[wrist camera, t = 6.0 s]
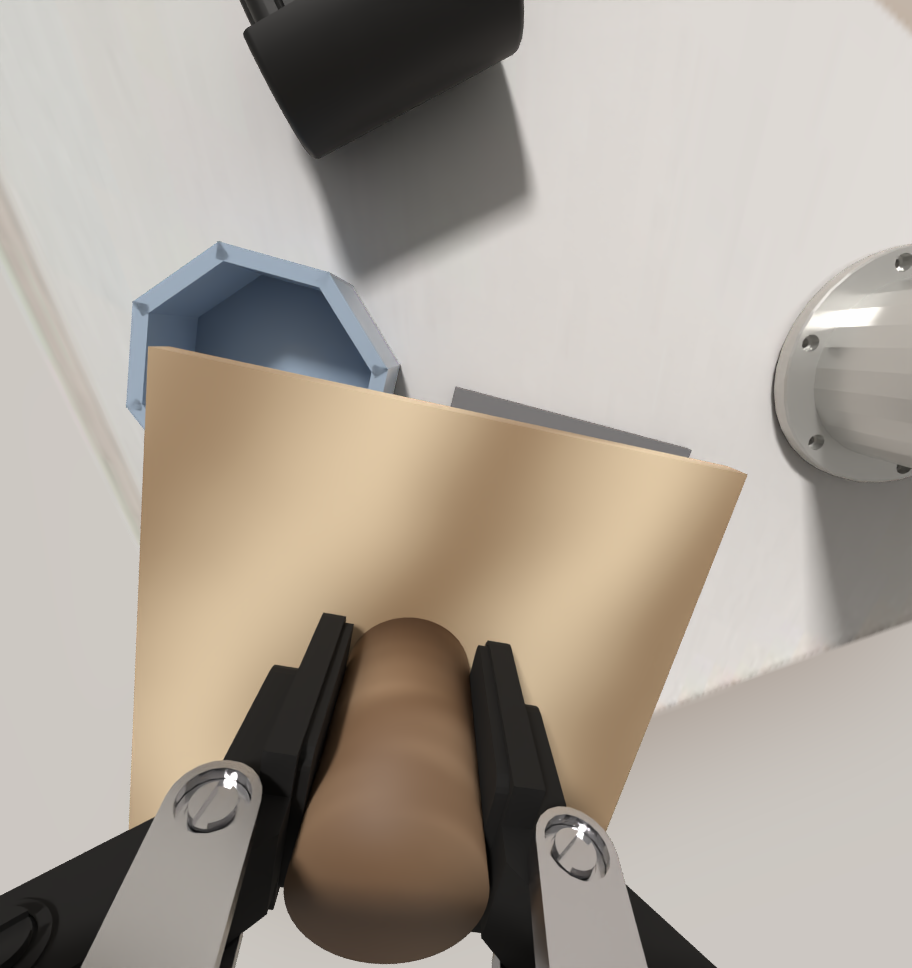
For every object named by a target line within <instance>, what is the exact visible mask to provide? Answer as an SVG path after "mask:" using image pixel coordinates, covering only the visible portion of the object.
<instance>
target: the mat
mask: <svg viewBox="0 0 912 968" xmlns="http://www.w3.org/2000/svg"><path fill="white" fill-rule="evenodd" d="M451 407H454V408H459V409H463V410H468V411H473V412H477V413H482V414H487V415H491V416H496V417H501V418H505V419H510V420H515V421H519V422H524V423H529V424H533V425H538V426H543V427H547V428H552V429H557V430H561V431H566V432H571V433H575V434H580V435H584V436H589V437H594V438H598V439H603V440H608V441H612V442H617V443H622V444H626V445H631V446H636V447H640V448H645V449H650V450H654V451H659V452H664V453H668V454H673V455H678V456H682V457H687V458H689V455H690V453H691V451H692V450H690V449H688V448H685V447H681V446H677V445H673V444H670V443H666V442H662V441H658V440H655V439H651V438H647V437H643V436H640V435H636V434H632V433H628V432H625V431H621V430H617V429H613V428H610V427H606V426H602V425H598V424H595V423H591V422H587V421H583V420H580V419H576V418H572V417H568V416H565V415H561V414H557V413H553V412H550V411H546V410H542V409H538V408H535V407H531V406H527V405H523V404H520V403H516V402H512V401H508V400H505V399H501V398H497V397H493V396H490V395H486V394H482V393H478V392H475V391H471V390H467V389H463V388H460V387H456V388H455V391H454V395H453V399H452V403H451Z"/></svg>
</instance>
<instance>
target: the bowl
mask: <svg viewBox="0 0 912 968" xmlns="http://www.w3.org/2000/svg"><path fill="white" fill-rule="evenodd" d="M132 303H133V307H132V323H131V339H130V354H129V370H128V386H127V402H126V408H128V410H129V411H130V412H131V413H132V415H133V416H134V417H135V418H136V420H137V421H138V422H139V424H140V425H141V426H142V427H143V429H144V430H145V411H146V386H147V361H148V346H170V347H175V348H179V349H184V350H189V351H193V352H198V353H203V354H207V355H212V356H217V357H221V358H226V359H231V360H235V361H240V362H245V363H249V364H254V365H259V366H263V367H268V368H273V369H277V370H282V371H287V372H291V373H296V374H300V375H305V376H310V377H314V378H319V379H324V380H328V381H333V382H338V383H342V384H347V385H352V386H356V387H361V388H366V389H370V390H375V391H380V392H384V393H389V394H394V390H395V386H396V381H397V377H398V372H399V368H400V364H399V362H398V361H397V359H396V357H395V356H394V354H393V352H392V351H391V349H390V347H389V346H388V344H387V342H386V341H385V339H384V337H383V336H382V334H381V332H380V331H379V329H378V327H377V326H376V324H375V322H374V321H373V319H372V317H371V316H370V314H369V312H368V311H367V309H366V307H365V306H364V304H363V302H362V301H361V299H360V297H359V296H358V294H357V292H356V291H355V289H354V287H353V286H352V285H351V284H349V283H347V282H346V281H344V280H342V279H340V278H339V277H337V276H335V275H333V274H332V273H330V272H326V271H322V270H319V269H315V268H312V267H308V266H304V265H301V264H297V263H294V262H290V261H287V260H283V259H279V258H276V257H272V256H269V255H265V254H262V253H258V252H254V251H251V250H247V249H244V248H240V247H236V246H233V245H229V244H226V243H223V242H220V241H217V243H216V244H214V245H213V246H211V247H210V248H209V249H207V250H206V251H204V252H203V253H202V254H200V255H199V256H197V257H196V258H194V259H193V260H192V261H190V262H189V263H187V264H186V265H184V266H183V267H182V268H180V269H179V270H177V271H176V272H174V273H173V274H172V275H170V276H169V277H167V278H166V279H165V280H163V281H162V282H160V283H159V284H157V285H156V286H155V287H153V288H152V289H150V290H149V291H147V292H146V293H145V294H143V295H142V296H140V297H139V298H137V299H136V300H135V301H133V302H132Z"/></svg>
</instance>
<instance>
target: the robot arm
mask: <svg viewBox="0 0 912 968" xmlns="http://www.w3.org/2000/svg"><path fill="white" fill-rule="evenodd" d="M774 397H775V409H776V413H777V417H778V420H779V423H780V427H781V430H782V431H783V433H784V435H785V437H786V438H787V440H788V442H789V444H790V445H791V446H792V448H793V449H794V450H795V451H796V452H797V453H798V454H799V455H800V456H801V457H802V458H803V459H804V460H805V461H807V462H808V463H810V464H811V465H813V466H814V467H816V468H817V469H820V470H822V471H825V472H827V473H830V474H832V475H835V476H837V477H841V478H845V479H849V480H852V481H857V482H872V483H878V482H887V481H895V480H900V479H904V478H907V477H911V476H912V244H908V245H903V246H898V247H894V248H891V249H888V250H885V251H882V252H879V253H876V254H873V255H870V256H868V257H866V258H864V259H862V260H860V261H859V262H857V263H855V264H853V265H851V266H849V267H847V268H846V269H845V270H843V271H842V272H841V273H840V274H838V275H837V276H836V277H834V278H833V279H832V280H830V281H829V282H828V283H826V285H825V286H824V287H823V288H822V289H821V290H820V291H819V292H818V293H817V294H816V295H815V296H814V297H813V298H812V299H811V300H810V301H809V302H808V304H807V305H806V306H805V308H804V309H803V311H802V312H801V314H800V315H799V316H798V318H797V319H796V321H795V322H794V324H793V326H792V328H791V330H790V332H789V334H788V336H787V338H786V340H785V342H784V344H783V347H782V350H781V354H780V357H779V360H778V364H777V367H776V375H775V384H774ZM353 627H354V624H351V623H346V616H342V615H336V614H330V613H323V614H322V616H321V618H320V621H319V623H318V625H317V627H316V630H315V632H314V634H313V637H312V639H311V641H310V643H309V646H308V648H307V650H306V653H305V655H304V657H303V659H302V662H301V664H300V666H299V668H294V667H287V666H281V665H273V666H272V668H271V669H270V671H269V673H268V675H267V677H266V679H265V681H264V682H263V684H262V686H261V688H260V690H259V692H258V694H257V696H256V698H255V700H254V702H253V704H252V705H251V707H250V709H249V711H248V713H247V715H246V717H245V719H244V721H243V723H242V725H241V726H240V728H239V730H238V732H237V734H236V736H235V738H234V740H233V742H232V744H231V746H230V747H229V749H228V751H227V753H226V755H225V757H224V759H223V760H221V761H213V762H209V763H206V764H203V765H200V766H198V767H196V768H194V769H192V770H190V771H189V772H187V773H185V774H184V775H183V776H182V777H181V778H180V779H179V780H177V781H176V782H175V783H174V784H173V786H172V787H171V789H170V790H169V791H168V793H167V794H166V796H165V798H164V800H163V802H162V804H161V806H160V808H159V810H158V812H157V814H156V816H155V817H153V818H151V819H149V820H147V821H145V822H143V823H141V824H140V825H138V826H136V827H134V828H132V829H130V830H128V831H126V832H124V833H122V834H120V835H118V836H116V837H114V838H112V839H110V840H108V841H106V842H104V843H102V844H101V845H98V846H96V847H95V848H93V849H91V850H89V851H87V852H85V853H83V854H81V855H79V856H77V857H75V858H73V859H71V860H69V861H67V862H65V863H63V864H61V865H59V866H57V867H55V868H53V869H52V870H50V871H48V872H46V873H44V874H42V875H40V876H38V877H36V878H34V879H32V880H30V881H28V882H26V883H24V884H22V885H21V886H18V887H16V888H14V889H12V890H11V891H8V892H6V893H4V894H3V895H1V896H0V968H235V965H236V961H237V957H238V953H239V949H240V945H241V941H242V937H243V932H244V931H245V930H247V929H248V928H249V927H251V926H252V925H253V924H255V923H256V922H257V921H259V920H260V919H261V918H262V917H264V916H265V915H266V914H267V911H268V909H270V910H273V909H274V905H275V902H276V899H277V895H278V892H279V888H280V887H284V882H285V878H286V874H287V870H288V867H289V863H290V860H291V856H292V853H293V850H294V846H295V843H296V839H297V836H298V832H299V829H300V825H301V823H302V819H303V816H304V812H305V809H306V805H307V802H308V798H309V795H310V791H311V788H312V784H313V781H314V778H315V774H316V771H317V767H318V764H319V760H320V757H321V753H322V750H323V746H324V743H325V740H326V736H327V733H328V729H329V726H330V722H331V719H332V715H333V712H334V708H335V705H336V702H337V698H338V695H339V691H340V688H341V684H342V681H343V677H344V674H345V670H346V666H347V660H348V655H349V649H350V644H351V638H352V633H353ZM469 676H470V687H471V698H472V708H473V719H474V730H475V741H476V751H477V762H478V773H479V784H480V794H481V805H482V816H483V827H484V836H485V845H486V856H487V866H488V877H489V899H488V903H487V907H486V909H485V911H484V914H483V916H482V917H481V919H480V921H479V922H478V924H477V925H476V926H475V927H474V929H473V930H472V931H471V932H478V933H481V938H482V939H483V940H484V941H485V943H486V944H487V945H488V947H489V948H490V949H491V950H492V952H493V959H492V968H717V967H715V966H714V965H713V964H712V963H711V962H710V961H709V960H708V959H707V958H705V957H704V956H703V955H702V954H701V953H700V952H699V951H698V950H697V949H696V948H695V947H694V946H693V945H691V944H690V943H689V942H688V941H687V940H686V939H685V938H684V937H683V936H681V935H680V934H679V933H678V932H677V931H676V930H675V929H674V928H673V927H672V926H671V925H670V924H668V923H667V922H666V921H665V920H664V919H663V918H662V917H661V916H660V915H659V914H658V913H656V912H655V911H654V910H653V909H652V908H651V907H650V906H649V905H648V904H647V903H646V902H644V901H643V900H642V899H641V898H640V897H639V896H638V895H637V894H636V893H635V892H633V891H632V890H631V889H630V888H629V887H628V886H627V885H626V884H625V881H624V877H623V873H622V869H621V865H620V862H619V858H618V855H617V852H616V850H615V847H614V845H613V842H612V841H611V839H610V838H609V836H608V835H607V833H606V832H605V830H604V829H603V828H602V827H601V826H600V825H599V824H598V823H597V822H596V821H595V820H594V819H592V818H591V817H589V816H588V815H586V814H584V813H583V812H581V811H578V810H576V809H573V808H570V807H567V806H566V802H565V799H564V795H563V791H562V788H561V784H560V781H559V777H558V773H557V770H556V766H555V763H554V759H553V755H552V752H551V748H550V745H549V741H548V737H547V734H546V730H545V727H544V723H543V719H542V716H541V713H540V710H539V708H538V707H537V706H534V705H528V704H525V702H524V698H523V694H522V690H521V686H520V682H519V677H518V673H517V669H516V665H515V661H514V657H513V652H512V648H511V645H510V644H507V643H501V642H495V641H489V640H488V641H487V642H486V644H485V646H482V645H478V647H477V649H476V653H475V656H474V660H473V664H472V668H471V672H470V675H469Z"/></svg>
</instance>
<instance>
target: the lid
mask: <svg viewBox="0 0 912 968" xmlns="http://www.w3.org/2000/svg"><path fill="white" fill-rule="evenodd" d="M746 477H747V474H745V473H742V472H740V471H738V470H735V469H733V468H730V467H728V466H724V465H720V464H715V463H710V462H706V461H701V460H696V459H692V458H687V457H682V456H678V455H673V454H668V453H664V452H659V451H654V450H650V449H645V448H640V447H636V446H631V445H626V444H622V443H617V442H612V441H608V440H603V439H598V438H594V437H589V436H584V435H580V434H575V433H571V432H566V431H561V430H557V429H552V428H547V427H543V426H538V425H533V424H529V423H524V422H519V421H515V420H510V419H505V418H501V417H496V416H491V415H487V414H482V413H477V412H473V411H468V410H463V409H459V408H454V407H449V406H445V405H440V404H436V403H431V402H426V401H422V400H417V399H412V398H408V397H403V396H398V395H394V394H389V393H384V392H380V391H375V390H370V389H366V388H361V387H356V386H352V385H347V384H342V383H338V382H333V381H328V380H324V379H319V378H314V377H310V376H305V375H300V374H296V373H291V372H287V371H282V370H277V369H273V368H268V367H263V366H259V365H254V364H249V363H245V362H240V361H235V360H231V359H226V358H221V357H217V356H212V355H207V354H203V353H198V352H193V351H189V350H184V349H179V348H175V347H170V346H148V361H147V386H146V411H145V436H144V461H143V486H142V512H141V537H140V563H139V588H138V612H137V614H138V615H137V638H136V662H135V687H134V688H135V689H134V713H133V739H132V763H131V764H132V765H131V788H130V814H129V830H130V829H132V828H134V827H136V826H138V825H140V824H141V823H143V822H145V821H147V820H149V819H151V818H153V817H155V816H156V814H157V812H158V810H159V808H160V806H161V804H162V802H163V800H164V798H165V796H166V794H167V793H168V791H169V790H170V789H171V787H172V786H173V784H174V783H175V782H176V781H177V780H179V779H180V778H181V777H182V776H183V775H184V774H185V773H187V772H189V771H190V770H192V769H194V768H196V767H198V766H200V765H203V764H206V763H209V762H213V761H221V760H223V759H224V757H225V755H226V753H227V751H228V749H229V747H230V746H231V744H232V742H233V740H234V738H235V736H236V734H237V732H238V730H239V728H240V726H241V725H242V723H243V721H244V719H245V717H246V715H247V713H248V711H249V709H250V707H251V705H252V704H253V702H254V700H255V698H256V696H257V694H258V692H259V690H260V688H261V686H262V684H263V682H264V681H265V679H266V677H267V675H268V673H269V671H270V669H271V668H272V666H273V665H281V666H287V667H294V668H299V666H300V664H301V662H302V659H303V657H304V655H305V653H306V650H307V648H308V646H309V643H310V641H311V639H312V637H313V634H314V632H315V630H316V627H317V625H318V623H319V621H320V618H321V616H322V614H323V613H330V614H336V615H342V616H346V623H351V624H354V627H353V633H352V638H351V644H350V649H349V655H348V660H347V666H346V670H345V674H344V677H343V681H342V684H341V688H340V691H339V695H338V698H337V702H336V705H335V708H334V712H333V715H332V719H331V722H330V726H329V729H328V733H327V736H326V740H325V743H324V746H323V750H322V753H321V757H320V760H319V764H318V767H317V771H316V774H315V778H314V781H313V784H312V788H311V791H310V795H309V798H308V802H307V805H306V809H305V812H304V816H303V819H302V823H301V825H300V829H299V832H298V836H297V839H296V843H295V846H294V850H293V853H292V856H291V860H290V863H289V867H288V870H287V874H286V878H285V882H284V900H285V905H286V908H287V911H288V913H289V915H290V917H291V919H292V921H293V922H294V924H295V925H296V927H297V928H298V929H299V930H300V931H301V932H302V933H303V934H304V935H305V936H306V937H307V938H308V939H310V940H311V941H312V942H313V943H314V944H316V945H318V946H320V947H321V948H323V949H324V950H326V951H329V952H331V953H333V954H335V955H338V956H340V957H343V958H346V959H350V960H355V961H359V962H366V963H375V964H397V963H405V962H411V961H416V960H421V959H424V958H427V957H430V956H433V955H436V954H438V953H440V952H443V951H445V950H446V949H448V948H450V947H452V946H454V945H455V944H457V943H458V942H459V941H461V940H462V939H463V938H464V937H466V936H467V935H468V934H469V933H470V932H471V931H472V930H473V929H474V927H475V926H476V925H477V924H478V922H479V921H480V919H481V917H482V916H483V914H484V911H485V909H486V907H487V903H488V899H489V877H488V866H487V856H486V845H485V836H484V827H483V816H482V805H481V794H480V784H479V773H478V762H477V751H476V741H475V730H474V719H473V708H472V698H471V687H470V676H469V675H470V672H471V668H472V664H473V660H474V656H475V653H476V649H477V647H478V645H482V646H485V644H486V642H487V641H488V640H489V641H495V642H501V643H507V644H510V645H511V648H512V652H513V657H514V661H515V665H516V669H517V673H518V677H519V682H520V686H521V690H522V694H523V698H524V702H525V704H528V705H534V706H537V707H538V708H539V710H540V713H541V716H542V719H543V723H544V727H545V730H546V734H547V737H548V741H549V745H550V748H551V752H552V755H553V759H554V763H555V766H556V770H557V773H558V777H559V781H560V784H561V788H562V791H563V795H564V799H565V802H566V806H567V807H570V808H573V809H576V810H578V811H581V812H583V813H584V814H586V815H588V816H589V817H591V818H592V819H594V820H595V821H596V822H597V823H598V824H599V825H600V826H601V827H602V828H603V829H604V830H605V832H606V830H607V827H608V825H609V822H610V820H611V817H612V815H613V812H614V810H615V807H616V805H617V802H618V800H619V797H620V795H621V792H622V790H623V787H624V785H625V782H626V780H627V777H628V775H629V772H630V770H631V767H632V764H633V762H634V759H635V757H636V754H637V752H638V749H639V747H640V744H641V742H642V739H643V737H644V734H645V732H646V729H647V727H648V724H649V722H650V719H651V717H652V714H653V712H654V709H655V707H656V704H657V701H658V699H659V696H660V694H661V691H662V689H663V686H664V684H665V681H666V679H667V676H668V674H669V671H670V669H671V666H672V664H673V661H674V659H675V656H676V654H677V651H678V649H679V646H680V644H681V641H682V638H683V636H684V633H685V631H686V628H687V626H688V623H689V621H690V618H691V616H692V613H693V611H694V608H695V606H696V603H697V601H698V598H699V596H700V593H701V591H702V588H703V586H704V583H705V581H706V578H707V575H708V573H709V570H710V568H711V565H712V563H713V560H714V558H715V555H716V553H717V550H718V548H719V545H720V543H721V540H722V538H723V535H724V533H725V530H726V528H727V525H728V523H729V520H730V518H731V515H732V512H733V510H734V507H735V505H736V502H737V500H738V497H739V495H740V492H741V490H742V487H743V485H744V482H745V480H746Z"/></svg>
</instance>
